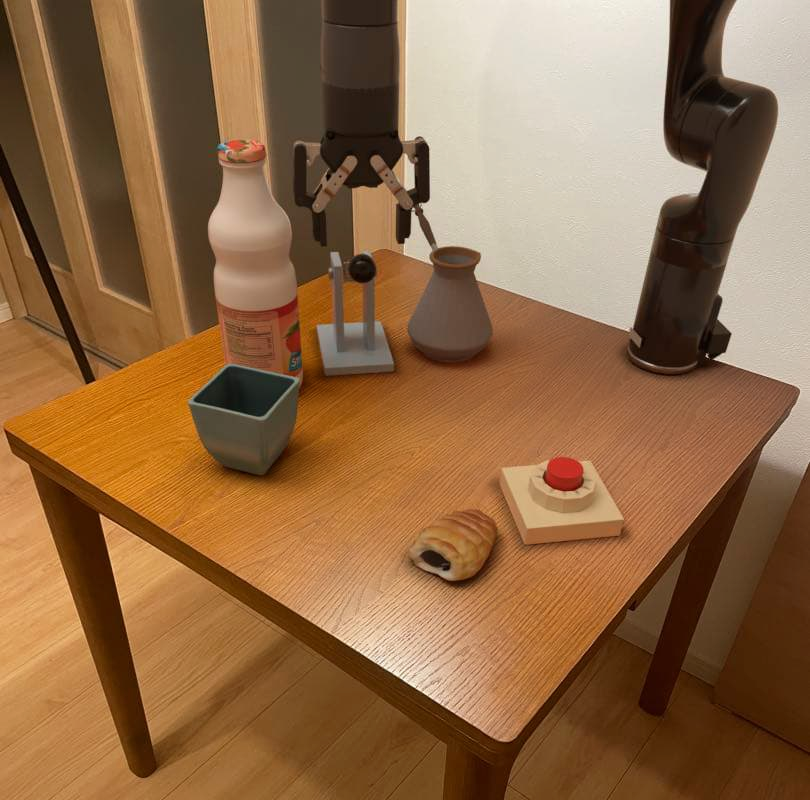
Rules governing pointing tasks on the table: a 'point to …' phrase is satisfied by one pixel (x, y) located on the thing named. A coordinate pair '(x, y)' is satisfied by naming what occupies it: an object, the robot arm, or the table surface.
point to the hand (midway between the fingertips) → (362, 242)
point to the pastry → (455, 544)
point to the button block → (559, 506)
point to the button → (564, 474)
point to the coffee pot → (450, 304)
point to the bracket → (353, 333)
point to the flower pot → (246, 416)
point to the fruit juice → (254, 266)
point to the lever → (359, 269)
